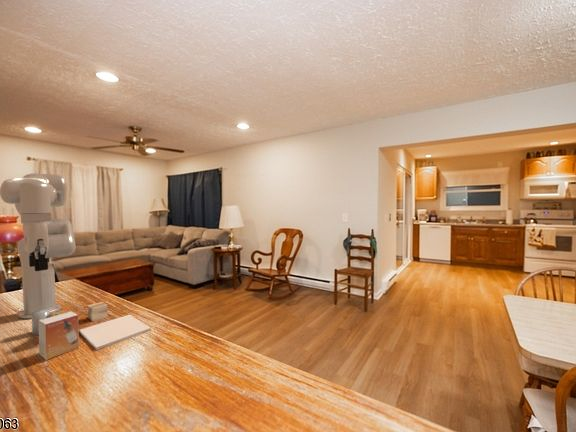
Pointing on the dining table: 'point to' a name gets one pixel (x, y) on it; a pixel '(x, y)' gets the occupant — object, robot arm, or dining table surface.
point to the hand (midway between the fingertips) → (38, 268)
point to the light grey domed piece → (36, 317)
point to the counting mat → (113, 331)
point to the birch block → (97, 311)
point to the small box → (58, 335)
